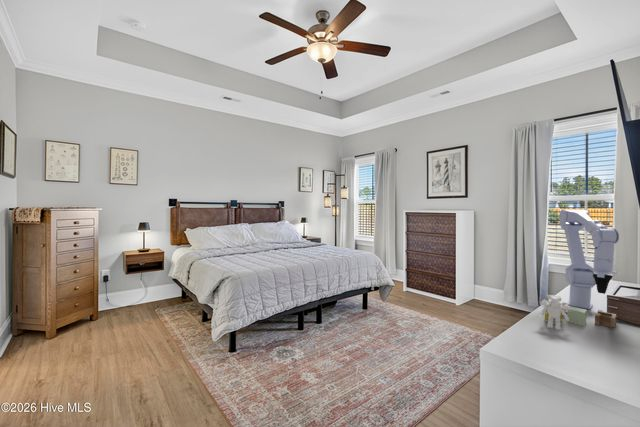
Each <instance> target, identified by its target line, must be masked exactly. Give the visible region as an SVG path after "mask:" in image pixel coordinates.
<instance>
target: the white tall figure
mask: <svg viewBox="0 0 640 427" xmlns="http://www.w3.org/2000/svg"><path fill="white" fill-rule="evenodd" d="M547 295H548V296H549V295H550V294H547ZM551 295H552V296H551V297H552V298H553V297H555V298H558V299H559V300H560V301H561V305H562V307H563V304H562V303H563V302H562V297H561V296H558V295H555V294H551ZM552 298H549V297H547V300H546V301H547V303H548V304H549V300H550V299H552ZM546 312H547V311H546ZM563 318H564V316H563V315H562V313H561V315H560V325H562V324H563ZM548 319H549V314H548V312H547V314H546V313H544V321H545V322H547V323H548ZM555 324H556V321H555V318H554V319H553V325H555Z"/></svg>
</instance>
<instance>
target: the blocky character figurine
mask: <svg viewBox="0 0 640 427" xmlns="http://www.w3.org/2000/svg"><path fill="white" fill-rule="evenodd" d="M548 295H549V296H548ZM552 295H553V294H547V293H545V296H546V298H548V297H549V298H552V297H551V296H552ZM547 301H548V300H547V299H543V300H542V299H541V301H540V302H539V306H541V307H542V310H541V313H540V314H541V316H545V313H546V314H547V312H548V314H549V319H548V322H547V325H546V327H547V328H550V329H553V328H554V329H555V330H558V331H561V330H562V326H561V324H560V315H561V313H562V315H563V318H564V319H565V320H566V322H567V321H569V318H568V316H567V314H566V313H568V310H569V311H570V310H571V308H570V306H571V305H567V303H566V304H565V305H564V306H563V307H562V305H561V303H562V300H561V301H560V300H559V299H558V298H555V297H553V298H552V299H550V300H549V304H548V303H547ZM563 309H564V310H563ZM565 310H566V311H565ZM546 311H547V312H546ZM570 312H571V311H570ZM554 318H555V321H556V324H553V319H554ZM553 325H554V327H553Z"/></svg>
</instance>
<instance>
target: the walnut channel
mask: <svg viewBox="0 0 640 427" xmlns="http://www.w3.org/2000/svg"><path fill="white" fill-rule="evenodd" d="M561 303H562V304H563V306H564V305H565V304H567V303H566V302H561ZM563 310H564V309H563ZM565 311H567V310H565ZM615 323H617V314H616V313H611V312H606V311H603V310H602V309H597V312H595V315H594V326H600V325H601V326H605V327H608V328H613V327H614V328H615V327H616V324H615Z"/></svg>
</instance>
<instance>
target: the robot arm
mask: <svg viewBox="0 0 640 427" xmlns="http://www.w3.org/2000/svg"><path fill="white" fill-rule="evenodd" d="M558 221H559V224H560V228H561V229H562V230H564V233H565V239H566V243H567V249H568V253H569V259H570V262H571V264H570V265H568V266H567V267H565V281H566V282H567V284H569V300H568V302H567V303H566V304H567V305H568V306H571V307H576V308H581V309H586V310H591V309H592V307H593V305H594V304H593V303H591V302H592V301H591V298H592V297H591V296H592V288H594V287H595V286H596V290H597V293H598V294H603V295H605V294H606V293H607V290H608V286H609V284H610V281H611V280H612V279H613V275H612V274H614V275H615V274H616V275H617V274H618V271H616V270H614V260H615V259H614V258H615V256H614V255H615V253H614V252H615V244H617V243H618V242H619V239H620V236H619V235H620V234H619V231H618V230H617V229H616V228H608V227H607V226H606V225H604V223H602V222H601V221H600V220H599V219H593V218H592V217H590V212H589V211H588V210H587V209H566V208H565V209H564V208H563V209H562V210H560V211H559V216H558ZM582 230H585V231H586V232H587V233H589V235H590V236H591V239H592V246H593V247H594V253H593V266H592V265H590V264H587V263H586V258H585V254H584V250H583V249H584V248H583V245H582V241H581V237H580V233H579V231H582Z"/></svg>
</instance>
